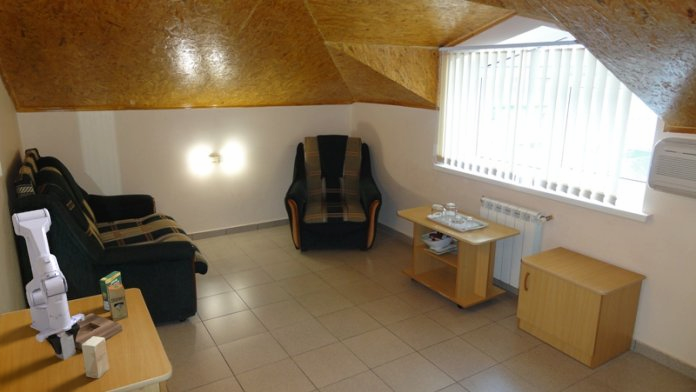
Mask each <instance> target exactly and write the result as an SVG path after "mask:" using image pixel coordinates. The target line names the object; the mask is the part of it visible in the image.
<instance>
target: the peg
mask: <svg viewBox="0 0 696 392" xmlns="http://www.w3.org/2000/svg"><path fill="white" fill-rule="evenodd" d="M57 336H59V337H61V339H60V347H61V354H60V355H58V354H56V353H55V356H56V357H57V358H59V359H60V360H64V361H65V360H67V359H69V358H70V357H72V356H73V355H75V354H77V351H76V347H75V345H74V339H73V334H70V333H68V332H66V331H64V332H62V333H60V334H58V335H57Z"/></svg>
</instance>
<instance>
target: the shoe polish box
mask: <svg viewBox="0 0 696 392" xmlns="http://www.w3.org/2000/svg"><path fill="white" fill-rule="evenodd" d="M125 291H126V290H125V287H124V285H123V283H118V284H113V285H109V286H107V293H108V300H109V306H110V311H109V313H110V317H111V318H112V321H114V322H116V321H119V320H123V319H127V318H128V317H129V313H128V305H127V299H126V292H125Z"/></svg>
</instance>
